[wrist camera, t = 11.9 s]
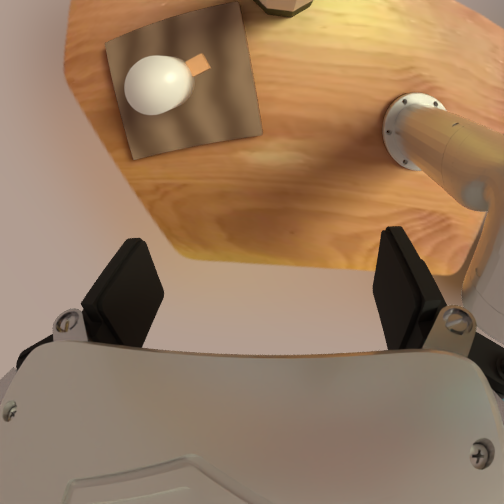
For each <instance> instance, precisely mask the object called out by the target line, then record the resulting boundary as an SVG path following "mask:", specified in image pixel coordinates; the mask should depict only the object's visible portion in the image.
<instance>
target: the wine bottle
mask: <svg viewBox="0 0 504 504" xmlns="http://www.w3.org/2000/svg"><path fill="white" fill-rule="evenodd" d="M254 1H255V2H256V3H257V4H258V5H259V6H260V7H261V8H262V9H263V10H264V11H265V12H266V13H267V14H268V15H277V16H284V17H293V16H295V15H296V14H298V13H300V12H301V11H303V10H305V9H307V8H308V7H310V5H311V3H312V2H313V0H254Z"/></svg>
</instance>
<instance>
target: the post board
mask: <svg viewBox="0 0 504 504" xmlns="http://www.w3.org/2000/svg"><path fill="white" fill-rule="evenodd" d="M105 47H106V53H107V58H108V62H109V67H110V72H111V76H112V81H113V85H114V90H115V94H116V98H117V102H118V106H119V110H120V114H121V118H122V121H123V125H124V129H125V132H126V136H127V140H128V143H129V147H130V150H131V153H132V157H133V160H136V159H140V158H144V157H148V156H152V155H156V154H161V153H165V152H169V151H174V150H179V149H183V148H188V147H193V146H198V145H203V144H209V143H214V142H220V141H226V140H232V139H239V138H246V137H253V136H260V135H263V129H262V123H261V117H260V111H259V105H258V99H257V93H256V88H255V82H254V76H253V71H252V65H251V60H250V54H249V49H248V44H247V38H246V33H245V28H244V23H243V18H242V13H241V8H240V4H239V2H232V3H227V4H222V5H217V6H212V7H208V8H204V9H200V10H196V11H192V12H188V13H185V14H181V15H178V16H174V17H171V18H168V19H165V20H162V21H159V22H156V23H153V24H150V25H147V26H145V27H142V28H139V29H137V30H134V31H132V32H129V33H127V34H124V35H122V36H120V37H117V38H115V39H113V40H110V41H108V42H106V43H105ZM201 53H202V54H204V56H205V58H206V60H207V62H208V63H209V65H210V67H211V69H209V70H207V71H205V72H203V73H201V74H199V75H197V76H195V85H194V89H193V92H192V94H191V96H190V97H189V98H188V99H187V101H186V102H184V103H183V104H182V105H180V106H178V107H176V108H173V109H171V110H168V111H166V112H164V113H161V114H157V115H145V114H142V113H140V112H138V111H136V110H135V109H134V108H132V107H131V105H130V104H129V103H128V101H127V99H126V96H125V90H124V85H125V79H126V76H127V74H128V72H129V70H130V69H131V68H132V66H133V65H134V64H135V63H137V62H138V61H139V60H141V59H143V58H145V57H148V56H169V57H177V58H180V59H182V60H184V61H185V62H186V61H188V60H190V59H191V58H193V57H195V56H197V55H199V54H201Z"/></svg>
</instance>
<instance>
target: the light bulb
mask: <svg viewBox="0 0 504 504" xmlns="http://www.w3.org/2000/svg"><path fill="white" fill-rule="evenodd" d="M209 69H211V67H210V65H209V63H208V62H207V60H206V58H205V56H204V54H202V53H201V54H199V55H197V56H195V57H193V58H191V59H190V60H188V61H186V62H185V61H184V60H182V59H180V58H177V57H169V56H148V57H145V58H143V59H141V60H139V61H138V62H137V63H135V64H134V65H133V66H132V68H131V69H130V70H129V72H128V74H127V76H126V79H125V85H124V90H125V96H126V99H127V101H128V103H129V104H130V105H131V107H132V108H134V109H135V110H136V111H138V112H140V113H142V114H145V115H157V114H161V113H164V112H166V111H168V110H171V109H173V108H176V107H178V106H180V105H182V104H183V103H184V102H186V101H187V99H188V98H189V97H190V96H191V94H192V92H193V89H194V85H195V76H197V75H199V74H201V73H203V72H205V71H207V70H209Z"/></svg>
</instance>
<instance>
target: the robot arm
mask: <svg viewBox="0 0 504 504" xmlns="http://www.w3.org/2000/svg"><path fill="white" fill-rule="evenodd" d="M402 100H404V102H403V103H402ZM433 103H434V104H433ZM387 130H388V133H386V132H387ZM382 134H383V140H384V143H385V146H386V148H387V150H388V152H389V154H390V155H391V156H392V158H393V159H394V160H395V161H396V162H398V163H399V164H400V165H401V166H403V167H405V168H407V169H410V170H414V171H423V172H425V173H426V174H427V175H428V176H429V177H430V178H432V179H433V180H434V181H435V182H436V183H437V184H438V185H440V186H441V187H442V188H443V189H444V190H445V191H446V192H447V193H448V194H449V195H451V196H452V197H453V198H454V199H455V200H456V201H457V202H458V203H460V204H461V205H462V206H464V207H466V208H468V209H470V210H474V211H480V212H485V211H488V213H487V217H486V220H485V224H484V226H483V231H482V234H481V237H480V240H479V243H478V245H477V248H476V251H475V253H474V256H473V258H472V261H471V263H470V266H469V268H468V271H467V273H466V277H465V279H464V282H463V286H462V295H461V296H462V303H463V306H464V307H461V306H458V305H449V306H447V304H446V302H445V300H444V298H443V296H442V294H441V292H440V290H439V288H438V286H437V284H436V282H435V280H434V278H433V277H432V275H431V273H430V271H429V269H428V267H427V265H426V264H425V262H424V261H423V260H422V259H420V257H419V255H418V253H417V252H416V250H415V248H414V246H413V245H412V243H411V241H410V240H409V238H408V236H407V235H406V233H405V231H404V230H403V228H402V227H401V226H392V227H387V228H386V230H383V231H382V232H381V239H380V246H379V252H378V259H377V265H376V271H375V276H374V282H373V295H374V298H375V302H376V305H377V308H378V312H379V316H380V320H381V324H382V327H383V331H384V335H385V339H386V343H387V347H388V350H384V351H371V352H355V353H336V354H311V355H237V354H212V353H195V352H182V351H169V350H158V349H148V348H142V346H143V343H144V341H145V339H146V336H147V334H148V332H149V329H150V327H151V325H152V322H153V320H154V318H155V316H156V313H157V311H158V308H159V307H160V304H161V302H162V300H163V298H164V290H163V287H162V285H161V282H160V279H159V277H158V275H157V271H156V269H155V266H154V263H153V261H152V258H151V255H150V252H149V250H148V247H147V244H146V242H145V241H143V240H142V239H141V238H132V239H131V238H130V239H127V240H126V241H125V242H124V243H123V245H122V246H121V247H120V249H119V250H118V252H117V253H116V254H115V256H114V257H113V258H112V259H111V261H110V262H109V264H108V265H107V266H106V268H105V269H104V270H103V272H102V273H101V275H100V276H99V277H98V279H97V280H96V282H95V283H94V285H93V286H92V288H91V289H90V290H89V292H88V293H87V295H86V296H85V298H84V299H83V301H82V302H81V305H82V307H83V308H84V309H83V311H82V312H81V311H80V310H79V309H69V310H67V311H65V312H63V313H62V314H60V315H59V316H58V317H57V319H56V320H55V322H54V324H53V334H52V335H50V336H48V337H47V338H45V339H43V340H41V341H39V342H38V343H36V344H34V345H33V346H31V347H29V348H27V349H26V350H24V351H23V352H22V353H21V354H20V356H19V358H18V360H17V365H16V368H17V369H15V368H14V367H13V368H12V369H11V370H10V371H9V372H8V373H7V374H6V375H5V376H4V377H3V378H2V379H1V380H0V504H504V348H503V347H501V346H500V345H498V344H496V343H495V342H493V341H491V340H489V339H488V338H486V337H484V336H482V335H481V334H479V333H477V332H476V327H478V328H479V329H481V330H482V331H483V332H484V333H486V334H487V335H489V336H490V337H492V338H493V339H495V340H497V341H498V342H500V343H502V344H504V134H502V133H499V132H497V131H494V130H492V129H490V128H488V127H486V126H483V125H481V124H479V123H476V122H474V121H471V120H469V119H467V118H464V117H462V116H459V115H456V114H454V113H451V112H448V111H447V110H446V109H445V107H444V106H443V105H442V104H441V103H440V102H439V101H438V100H437V99H435V98H434V97H432V96H430V95H427V94H424V93H417V92H413V93H407V94H404V95H402V96H400V97H399V98H397V99H396V100H395V101H394V102H393V103H392V104H391V105H390V106H389V108H388V110H387V111H386V114H385V116H384V120H383V125H382ZM403 160H404V162H403Z"/></svg>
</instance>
